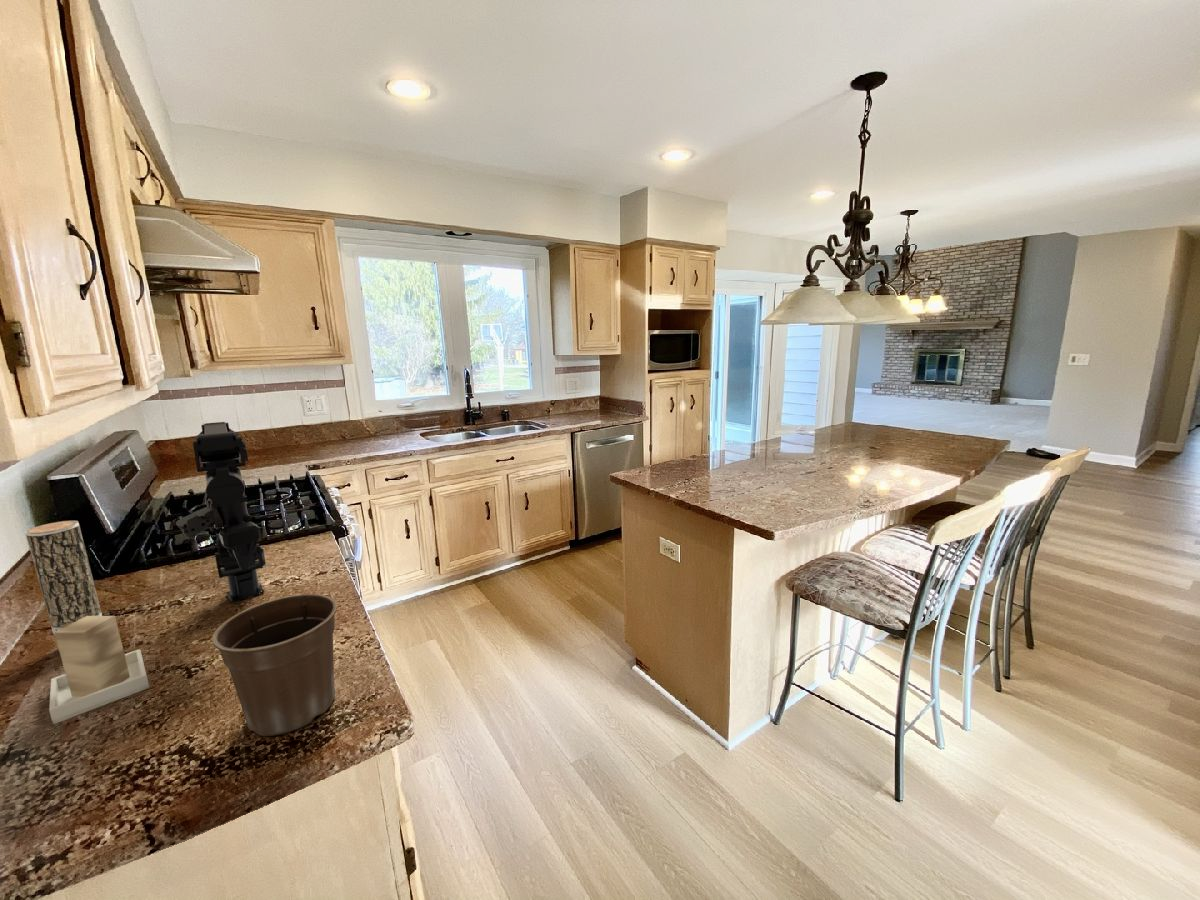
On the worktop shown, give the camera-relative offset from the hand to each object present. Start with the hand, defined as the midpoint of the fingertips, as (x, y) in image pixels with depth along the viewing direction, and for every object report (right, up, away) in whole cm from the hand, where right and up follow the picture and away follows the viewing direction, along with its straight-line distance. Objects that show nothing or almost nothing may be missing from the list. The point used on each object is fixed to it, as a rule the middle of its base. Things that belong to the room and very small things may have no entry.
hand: (239, 563), depth 102 cm
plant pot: (+27, -18, -24) cm, 40 cm away
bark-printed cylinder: (-27, -15, -6) cm, 31 cm away
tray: (-10, -17, -19) cm, 28 cm away
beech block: (-9, -17, -19) cm, 27 cm away
